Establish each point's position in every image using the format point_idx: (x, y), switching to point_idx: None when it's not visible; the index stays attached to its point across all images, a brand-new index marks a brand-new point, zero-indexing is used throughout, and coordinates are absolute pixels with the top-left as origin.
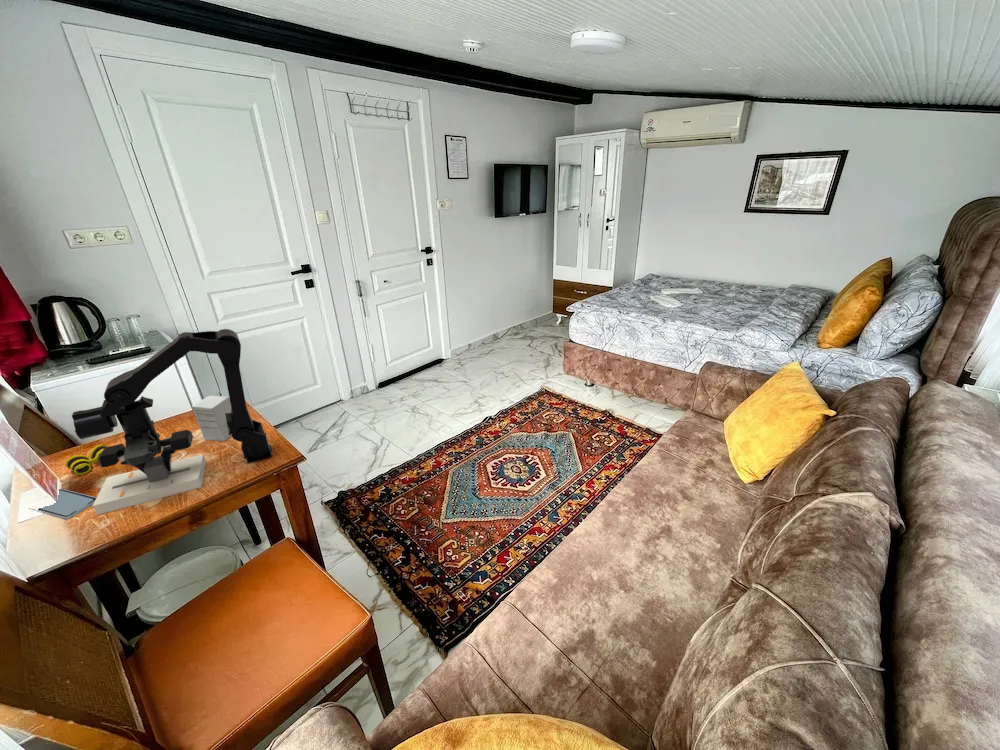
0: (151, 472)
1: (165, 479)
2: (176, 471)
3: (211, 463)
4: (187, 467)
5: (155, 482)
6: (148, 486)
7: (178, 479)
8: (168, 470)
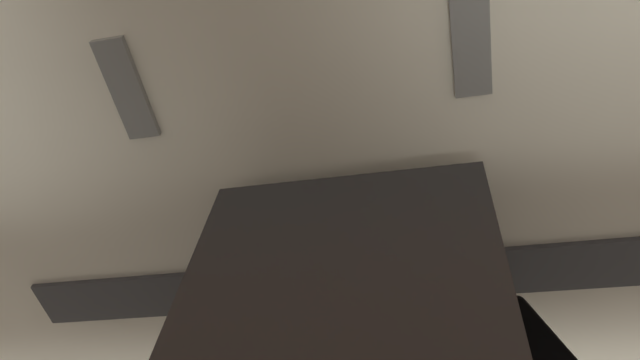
0: (399, 318)
1: (271, 178)
2: None
3: None
4: (97, 333)
5: (401, 150)
6: (485, 69)
7: (55, 114)
8: None
